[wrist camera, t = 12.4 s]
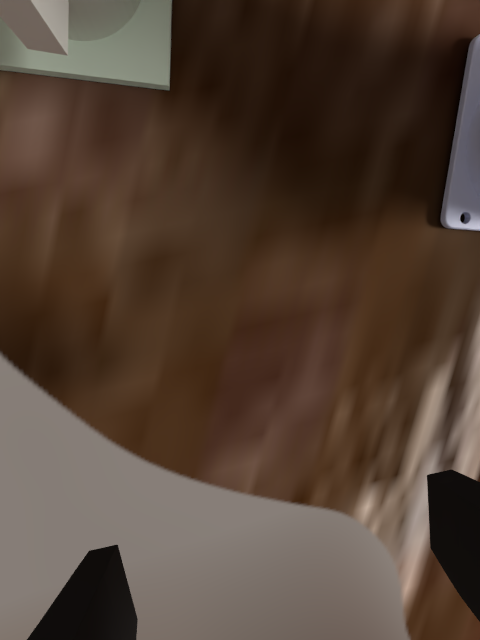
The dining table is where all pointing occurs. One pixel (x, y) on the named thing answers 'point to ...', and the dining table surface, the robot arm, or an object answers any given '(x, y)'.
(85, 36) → the white domed cylinder
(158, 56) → the mat
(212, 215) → the dining table surface
